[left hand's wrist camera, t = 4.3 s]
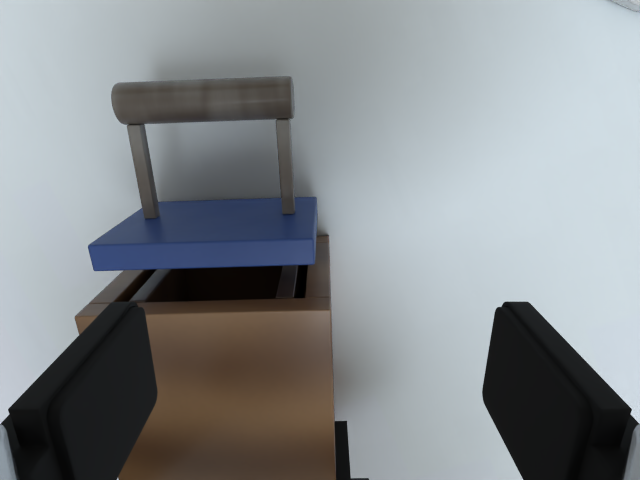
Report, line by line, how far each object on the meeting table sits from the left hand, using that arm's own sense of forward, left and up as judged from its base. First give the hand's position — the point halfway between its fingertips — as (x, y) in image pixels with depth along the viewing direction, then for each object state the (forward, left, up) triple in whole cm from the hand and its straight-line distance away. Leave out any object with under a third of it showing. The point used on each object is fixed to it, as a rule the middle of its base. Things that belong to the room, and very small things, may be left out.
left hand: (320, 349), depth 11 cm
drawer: (+1, -6, -13) cm, 14 cm away
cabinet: (+6, -8, -14) cm, 18 cm away
